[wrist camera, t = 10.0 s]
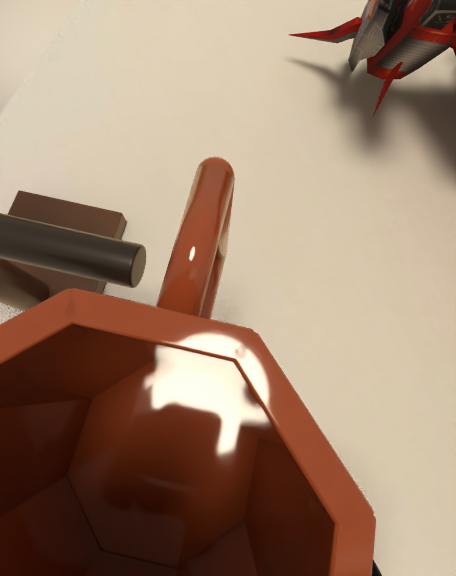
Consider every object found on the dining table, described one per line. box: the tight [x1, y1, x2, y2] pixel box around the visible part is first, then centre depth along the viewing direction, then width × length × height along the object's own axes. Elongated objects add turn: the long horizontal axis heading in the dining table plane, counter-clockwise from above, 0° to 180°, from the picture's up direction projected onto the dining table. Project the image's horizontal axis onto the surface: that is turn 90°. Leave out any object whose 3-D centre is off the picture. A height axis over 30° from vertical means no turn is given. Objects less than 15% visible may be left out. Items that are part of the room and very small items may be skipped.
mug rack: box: [0, 191, 146, 311], centre depth 15 cm, size 8×12×14 cm, turn 78°
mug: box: [0, 157, 376, 576], centre depth 8 cm, size 11×7×8 cm, turn 167°
